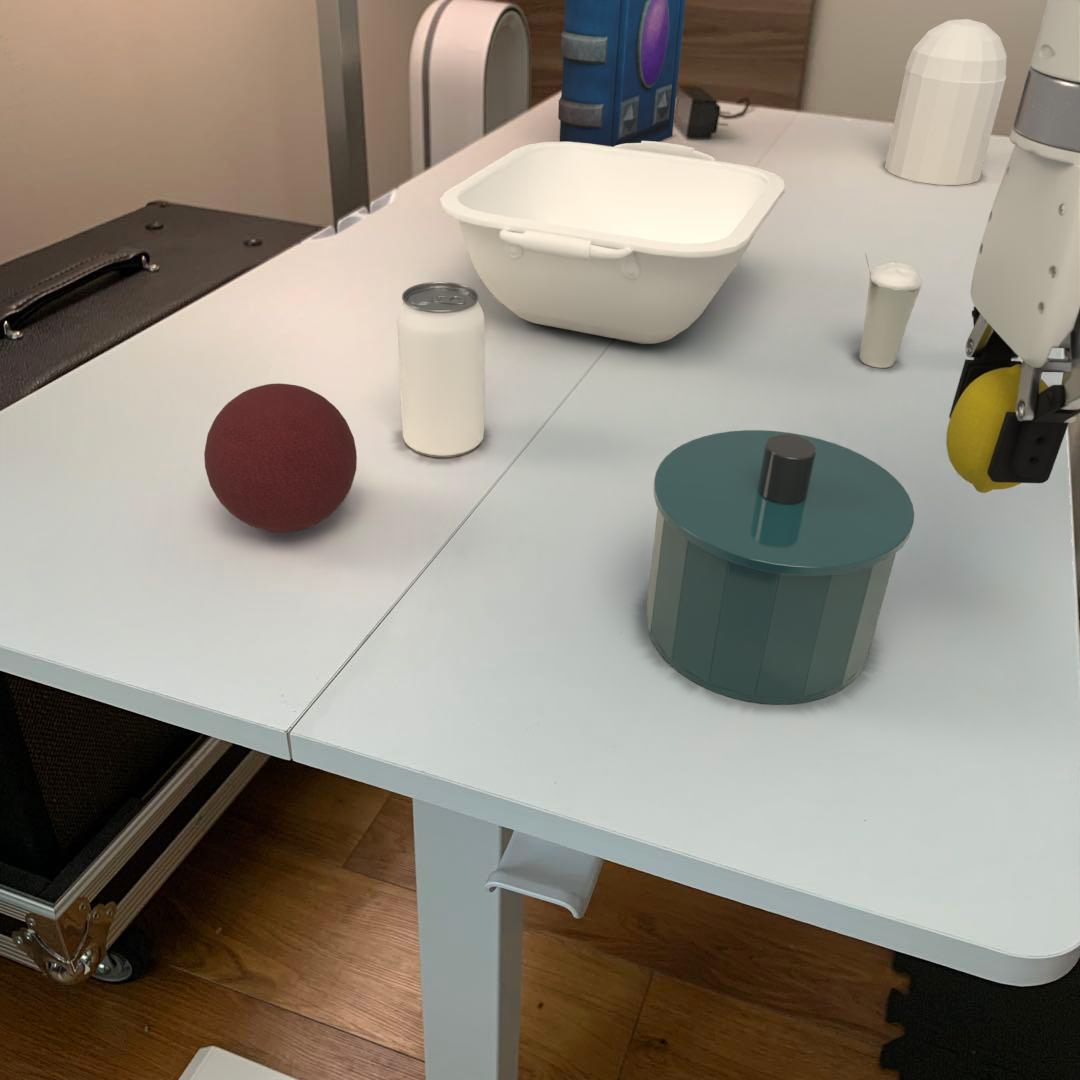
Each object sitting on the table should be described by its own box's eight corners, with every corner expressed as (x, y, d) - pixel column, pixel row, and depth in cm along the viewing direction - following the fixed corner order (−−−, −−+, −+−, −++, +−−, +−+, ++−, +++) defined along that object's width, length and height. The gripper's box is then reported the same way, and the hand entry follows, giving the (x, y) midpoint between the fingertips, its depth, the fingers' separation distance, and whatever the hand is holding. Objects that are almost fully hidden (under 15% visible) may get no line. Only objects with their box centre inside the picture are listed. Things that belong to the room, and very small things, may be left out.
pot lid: (871, 449, 68) (885, 389, 65) (944, 588, 56) (965, 521, 53) (641, 443, 67) (647, 383, 65) (666, 582, 55) (674, 515, 53)
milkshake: (841, 347, 102) (862, 245, 96) (898, 352, 102) (923, 250, 96) (845, 368, 98) (868, 262, 93) (905, 373, 98) (931, 268, 92)
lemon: (915, 490, 62) (950, 364, 57) (957, 457, 65) (993, 336, 61) (1008, 529, 59) (1052, 399, 54) (1046, 492, 62) (1092, 366, 58)
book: (601, 171, 148) (618, -80, 131) (548, 160, 152) (558, -85, 135) (680, 138, 165) (704, -89, 148) (630, 128, 169) (648, -93, 152)
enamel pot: (838, 566, 72) (867, 444, 67) (894, 706, 61) (935, 573, 56) (638, 562, 72) (651, 439, 67) (658, 702, 61) (676, 567, 55)
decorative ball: (276, 580, 69) (258, 445, 63) (186, 521, 74) (161, 392, 69) (390, 518, 75) (383, 390, 70) (300, 468, 81) (286, 345, 75)
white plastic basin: (541, 238, 125) (545, 125, 118) (782, 278, 117) (803, 159, 109) (405, 350, 99) (399, 212, 91) (704, 411, 90) (724, 266, 83)
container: (870, 172, 153) (901, 18, 141) (902, 153, 162) (934, 7, 150) (964, 191, 146) (1005, 31, 135) (992, 170, 156) (1032, 19, 144)
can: (408, 418, 88) (402, 277, 81) (486, 421, 88) (487, 281, 81) (397, 457, 82) (390, 311, 76) (480, 461, 82) (481, 315, 76)
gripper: (1285, 171, 43) (1130, 538, 54) (1100, 81, 58) (1004, 384, 68) (1104, 165, 43) (982, 534, 53) (962, 75, 57) (887, 381, 68)
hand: (996, 447), depth 61 cm, fingers closed on lemon, 5 cm apart
